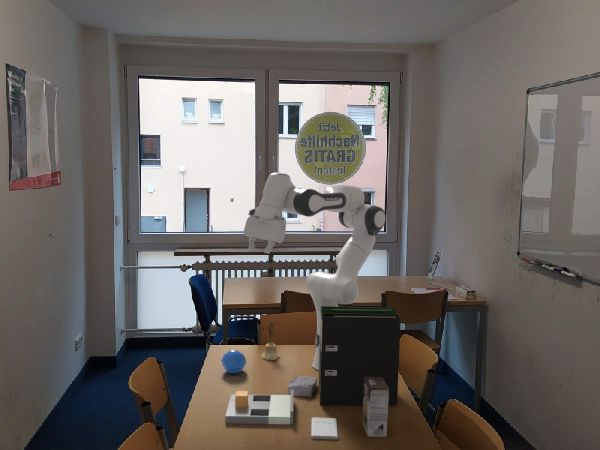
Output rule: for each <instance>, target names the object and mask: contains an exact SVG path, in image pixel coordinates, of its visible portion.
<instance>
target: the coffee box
mask: <svg viewBox="0 0 600 450" xmlns="http://www.w3.org/2000/svg"><path fill="white" fill-rule="evenodd" d="M388 399H389V387H388V386H387V384H386V382H385V381H384V379H383V377H364V389H363V406H362V426H363V429H364V431H365V434H366V435H367V437H368V438H369V437H370V438H373V437H374V438H377V437H378V438H379V437H380V438H381V437H387V435H388V434H387V433H388V418H389V417H388V416H389V415H388V413H389V406H388Z"/></svg>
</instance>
